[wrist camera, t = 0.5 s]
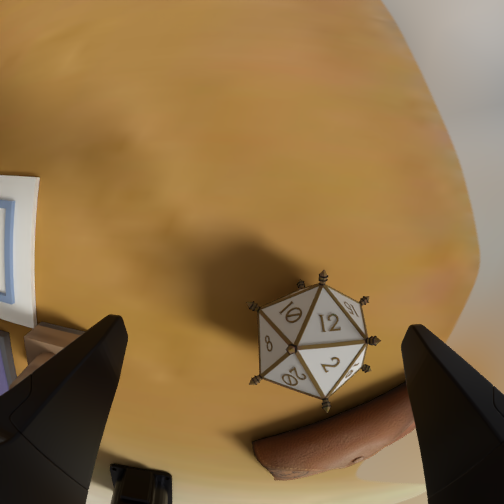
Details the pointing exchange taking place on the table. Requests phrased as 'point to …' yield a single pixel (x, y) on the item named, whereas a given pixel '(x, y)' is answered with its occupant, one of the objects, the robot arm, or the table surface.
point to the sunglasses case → (338, 438)
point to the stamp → (45, 345)
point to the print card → (18, 249)
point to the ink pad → (6, 363)
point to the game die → (312, 340)
